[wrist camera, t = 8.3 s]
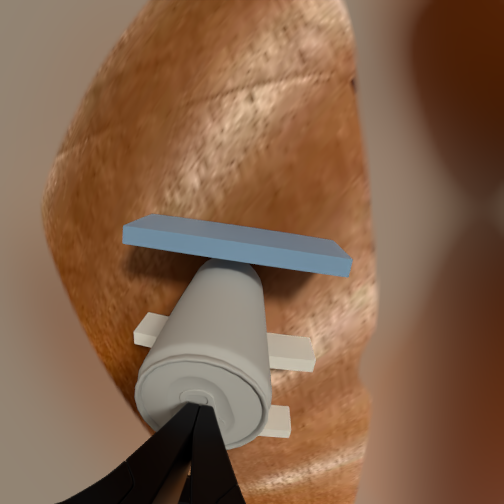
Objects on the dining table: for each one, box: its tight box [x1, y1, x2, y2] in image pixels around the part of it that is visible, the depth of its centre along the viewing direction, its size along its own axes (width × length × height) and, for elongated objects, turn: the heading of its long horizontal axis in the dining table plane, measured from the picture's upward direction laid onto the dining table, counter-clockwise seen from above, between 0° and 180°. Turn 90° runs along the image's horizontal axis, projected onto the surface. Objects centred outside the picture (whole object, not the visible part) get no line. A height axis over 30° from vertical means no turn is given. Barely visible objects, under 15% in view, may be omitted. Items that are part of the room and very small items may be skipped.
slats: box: [123, 214, 353, 438], centre depth 19 cm, size 16×12×4 cm
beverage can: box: [135, 258, 272, 450], centre depth 14 cm, size 5×5×12 cm
